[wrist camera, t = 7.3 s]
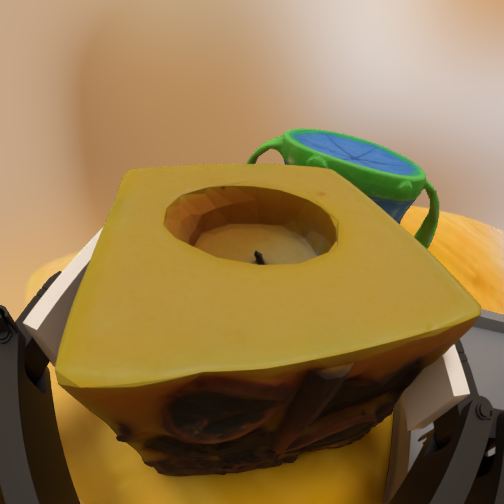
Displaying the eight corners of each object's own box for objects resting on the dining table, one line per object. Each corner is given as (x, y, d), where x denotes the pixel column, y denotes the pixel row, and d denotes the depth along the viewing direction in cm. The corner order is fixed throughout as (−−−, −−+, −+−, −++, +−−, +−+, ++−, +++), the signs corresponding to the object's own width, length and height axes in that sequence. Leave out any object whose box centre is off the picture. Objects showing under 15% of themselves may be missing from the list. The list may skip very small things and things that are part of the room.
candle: (361, 441, 11) (494, 315, 5) (159, 480, 9) (37, 399, 3) (301, 305, 19) (339, 165, 13) (151, 319, 17) (125, 164, 11)
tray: (510, 334, 16) (522, 319, 15) (535, 473, 4) (553, 462, 3) (391, 306, 19) (401, 287, 18) (381, 508, 7) (403, 504, 6)
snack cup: (402, 254, 25) (436, 162, 19) (412, 331, 17) (479, 209, 11) (260, 214, 29) (271, 117, 23) (215, 273, 21) (219, 136, 15)
